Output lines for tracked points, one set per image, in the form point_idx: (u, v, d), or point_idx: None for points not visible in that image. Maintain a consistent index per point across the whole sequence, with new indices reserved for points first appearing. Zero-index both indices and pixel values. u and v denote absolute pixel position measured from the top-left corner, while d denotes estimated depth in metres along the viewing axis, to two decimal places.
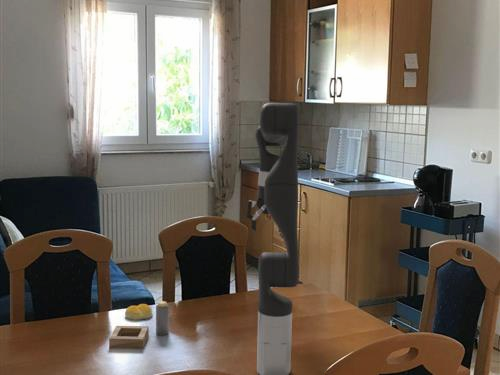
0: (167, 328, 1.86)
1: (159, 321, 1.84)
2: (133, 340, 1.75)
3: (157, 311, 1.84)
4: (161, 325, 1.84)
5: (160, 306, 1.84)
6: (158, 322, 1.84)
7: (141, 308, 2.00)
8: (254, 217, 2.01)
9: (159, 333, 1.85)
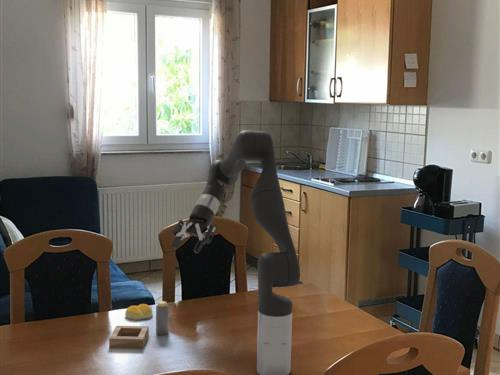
0: (167, 328, 1.86)
1: (159, 321, 1.84)
2: (133, 340, 1.75)
3: (157, 311, 1.84)
4: (161, 325, 1.84)
5: (160, 306, 1.84)
6: (158, 322, 1.84)
7: (141, 308, 2.00)
8: (178, 234, 1.97)
9: (159, 333, 1.85)
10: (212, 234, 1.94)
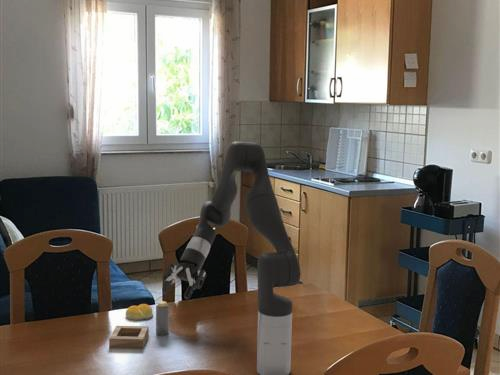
0: (167, 328, 1.86)
1: (159, 321, 1.84)
2: (133, 340, 1.75)
3: (157, 311, 1.84)
4: (161, 325, 1.84)
5: (160, 306, 1.84)
6: (158, 322, 1.84)
7: (142, 308, 2.00)
8: (168, 278, 1.95)
9: (159, 333, 1.85)
10: (202, 279, 1.92)
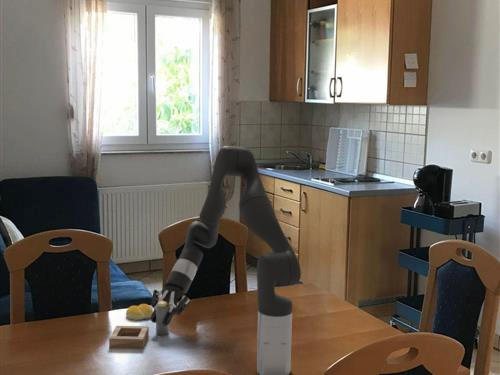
0: (167, 328, 1.86)
1: (159, 321, 1.84)
2: (133, 340, 1.75)
3: (157, 311, 1.84)
4: (161, 325, 1.84)
5: (160, 306, 1.84)
6: (158, 322, 1.84)
7: (142, 308, 2.00)
8: None
9: (159, 333, 1.85)
10: (184, 306, 1.86)
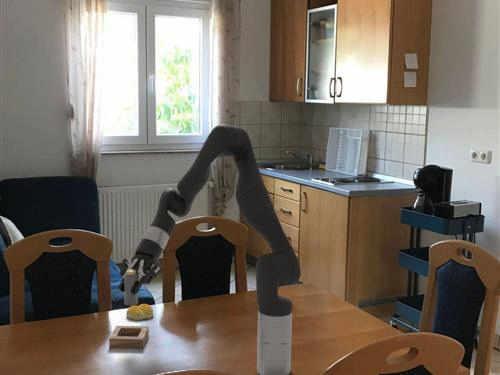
0: (136, 297, 1.78)
1: (127, 290, 1.76)
2: (133, 340, 1.75)
3: (125, 279, 1.76)
4: (130, 295, 1.76)
5: (128, 274, 1.76)
6: (126, 291, 1.76)
7: (142, 308, 2.00)
8: None
9: (127, 303, 1.77)
10: (153, 275, 1.77)
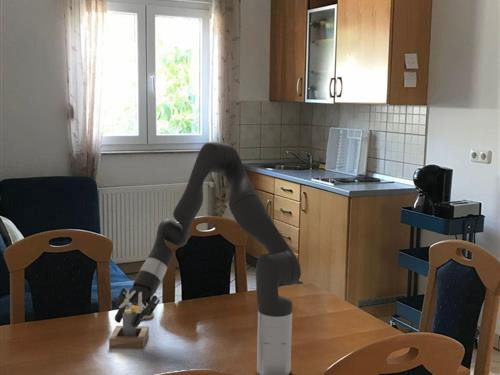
0: (134, 336, 1.79)
1: (126, 329, 1.77)
2: (133, 340, 1.75)
3: (124, 318, 1.77)
4: (128, 333, 1.77)
5: (127, 313, 1.77)
6: (125, 330, 1.78)
7: None
8: (121, 305, 1.81)
9: None
10: (154, 306, 1.78)
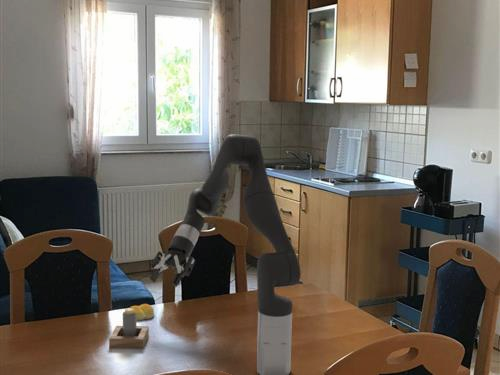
0: (134, 336, 1.79)
1: (126, 329, 1.77)
2: (133, 340, 1.75)
3: (124, 319, 1.77)
4: (128, 334, 1.77)
5: (127, 313, 1.77)
6: (125, 330, 1.78)
7: (143, 308, 2.00)
8: (156, 266, 1.92)
9: None
10: (191, 266, 1.89)
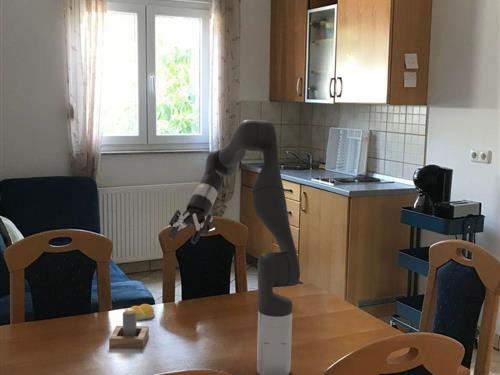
0: (134, 336, 1.79)
1: (126, 329, 1.77)
2: (133, 340, 1.75)
3: (124, 319, 1.77)
4: (128, 334, 1.77)
5: (127, 313, 1.77)
6: (125, 330, 1.78)
7: (143, 308, 2.00)
8: (175, 224, 1.92)
9: None
10: (210, 224, 1.89)
